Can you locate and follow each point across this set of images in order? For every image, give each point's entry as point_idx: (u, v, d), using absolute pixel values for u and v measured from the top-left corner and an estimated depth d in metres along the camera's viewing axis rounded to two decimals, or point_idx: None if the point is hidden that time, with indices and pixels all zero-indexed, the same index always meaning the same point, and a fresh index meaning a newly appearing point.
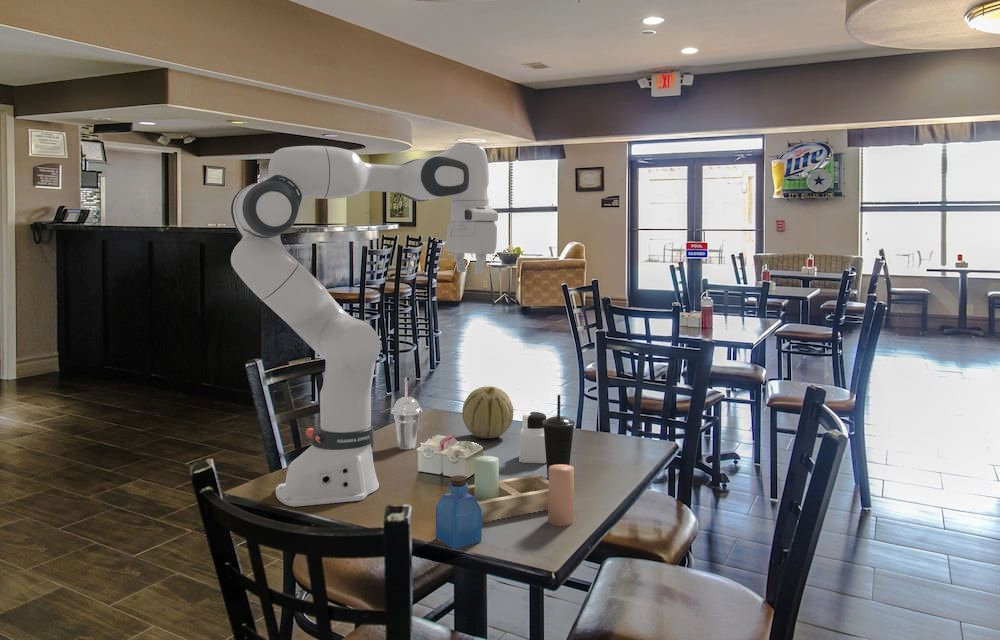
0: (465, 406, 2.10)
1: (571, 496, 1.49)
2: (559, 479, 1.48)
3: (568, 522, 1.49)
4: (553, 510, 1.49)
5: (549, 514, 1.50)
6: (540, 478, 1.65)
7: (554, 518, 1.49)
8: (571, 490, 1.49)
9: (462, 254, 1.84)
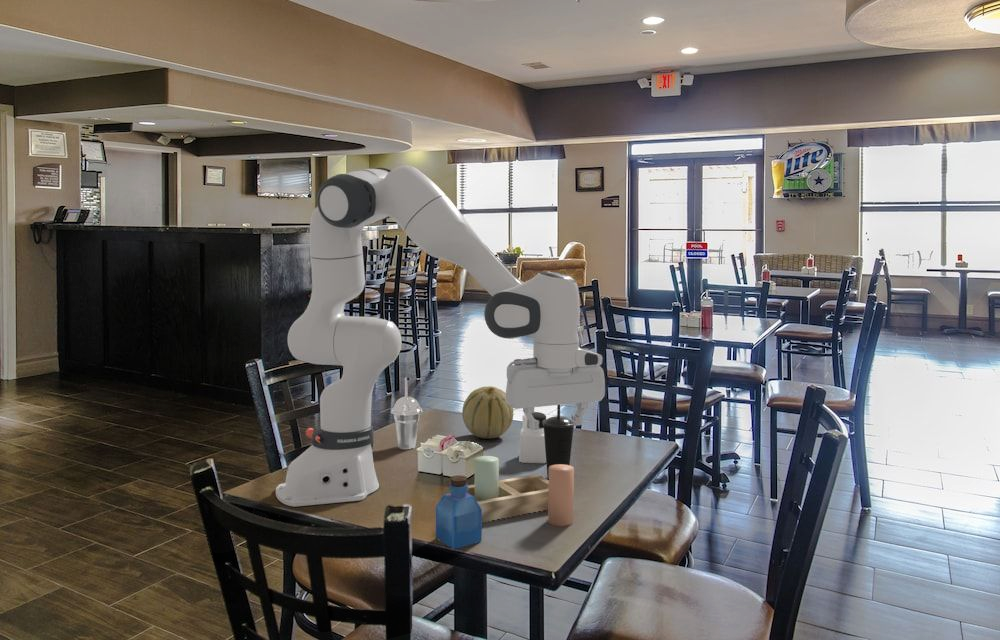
0: (465, 406, 2.10)
1: (571, 496, 1.49)
2: (559, 479, 1.48)
3: (568, 522, 1.49)
4: (553, 510, 1.49)
5: (549, 514, 1.50)
6: (540, 478, 1.65)
7: (554, 518, 1.49)
8: (571, 490, 1.49)
9: None
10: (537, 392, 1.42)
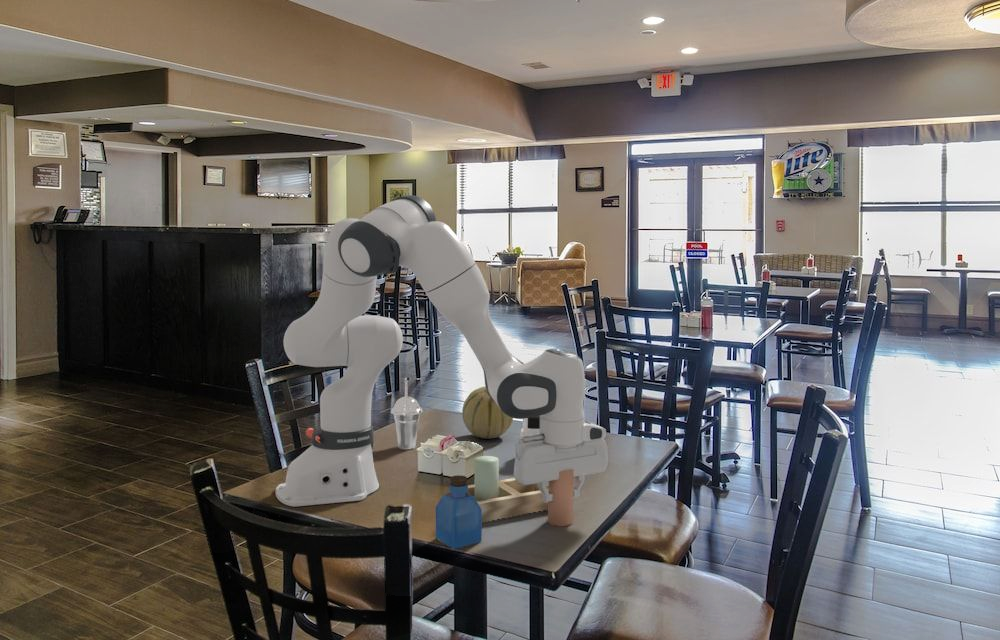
0: (465, 406, 2.10)
1: (571, 496, 1.49)
2: (559, 479, 1.48)
3: (568, 521, 1.49)
4: (553, 510, 1.49)
5: (549, 514, 1.50)
6: None
7: (554, 517, 1.49)
8: (571, 490, 1.49)
9: None
10: (545, 468, 1.46)
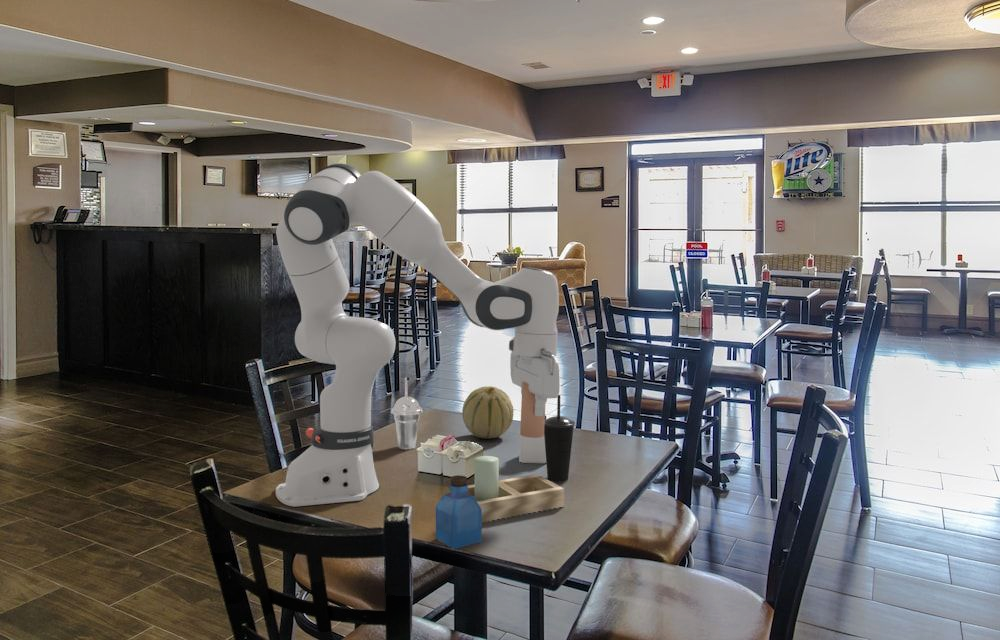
0: (465, 406, 2.10)
1: None
2: None
3: None
4: (540, 423, 1.55)
5: (535, 429, 1.55)
6: (540, 478, 1.65)
7: (541, 429, 1.56)
8: None
9: None
10: None
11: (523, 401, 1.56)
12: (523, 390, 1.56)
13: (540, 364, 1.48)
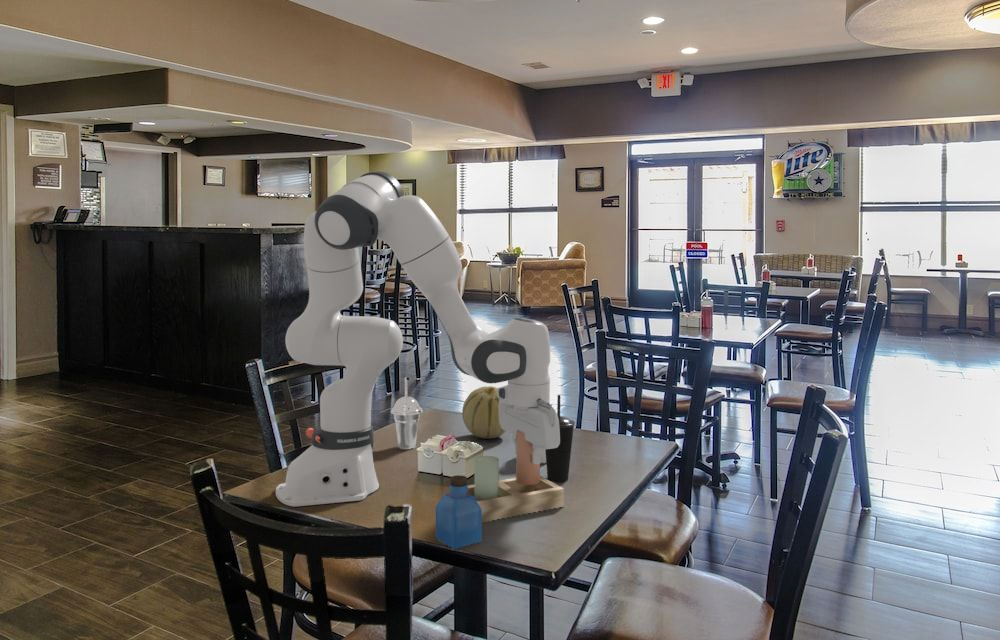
0: (465, 406, 2.10)
1: None
2: None
3: None
4: (537, 469, 1.58)
5: (532, 476, 1.58)
6: (540, 478, 1.65)
7: (538, 476, 1.59)
8: None
9: None
10: None
11: (519, 450, 1.58)
12: (519, 439, 1.58)
13: (539, 415, 1.51)
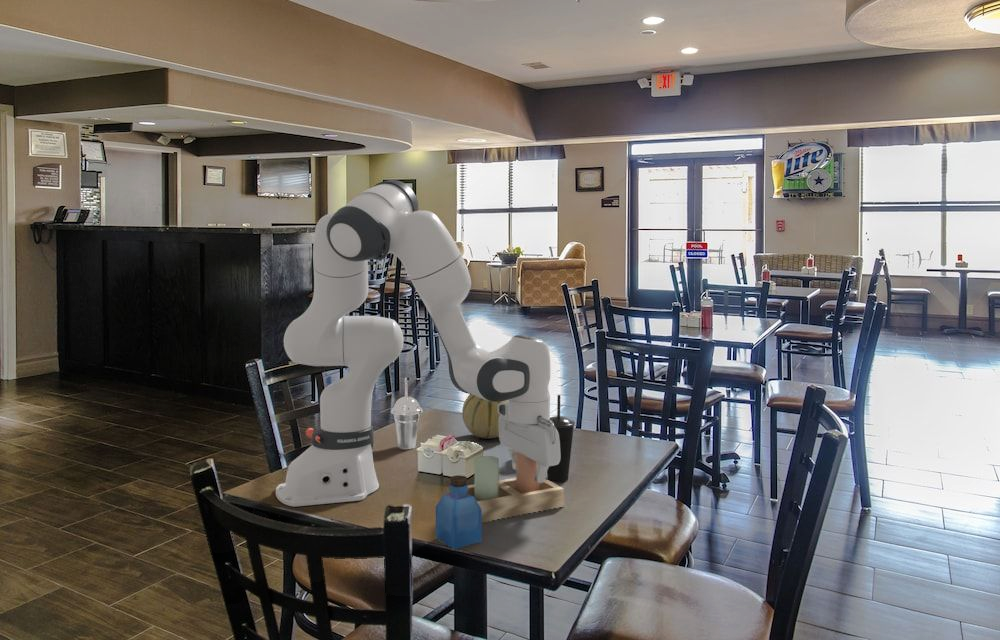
0: (465, 406, 2.10)
1: None
2: None
3: None
4: None
5: None
6: None
7: None
8: None
9: None
10: None
11: (519, 472, 1.59)
12: (519, 462, 1.59)
13: (540, 433, 1.52)
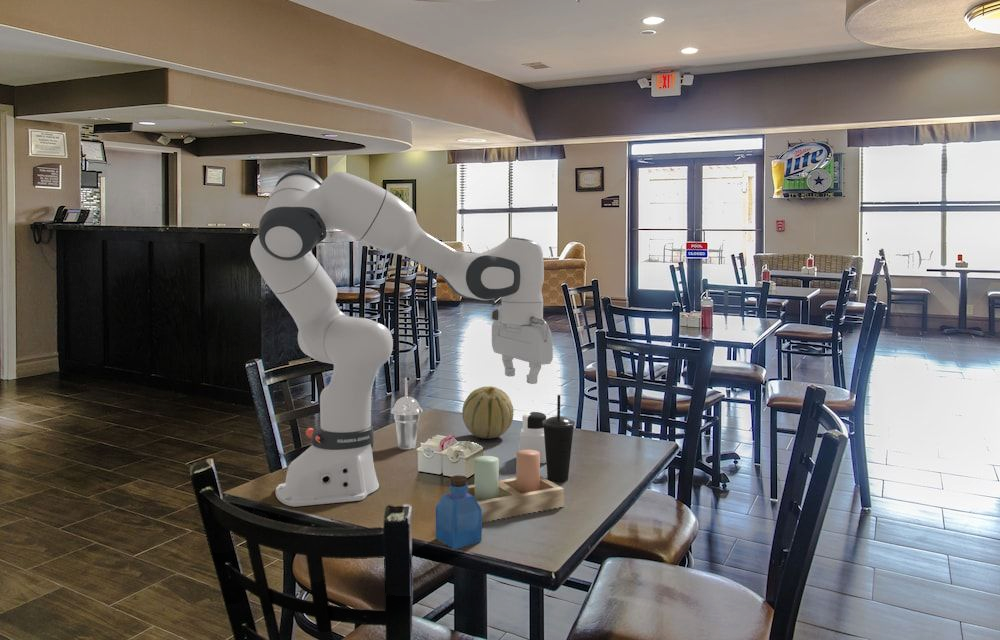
0: (465, 406, 2.10)
1: None
2: (539, 461, 1.60)
3: None
4: None
5: None
6: (540, 478, 1.65)
7: None
8: None
9: None
10: None
11: (519, 472, 1.59)
12: (519, 462, 1.59)
13: (533, 331, 1.52)
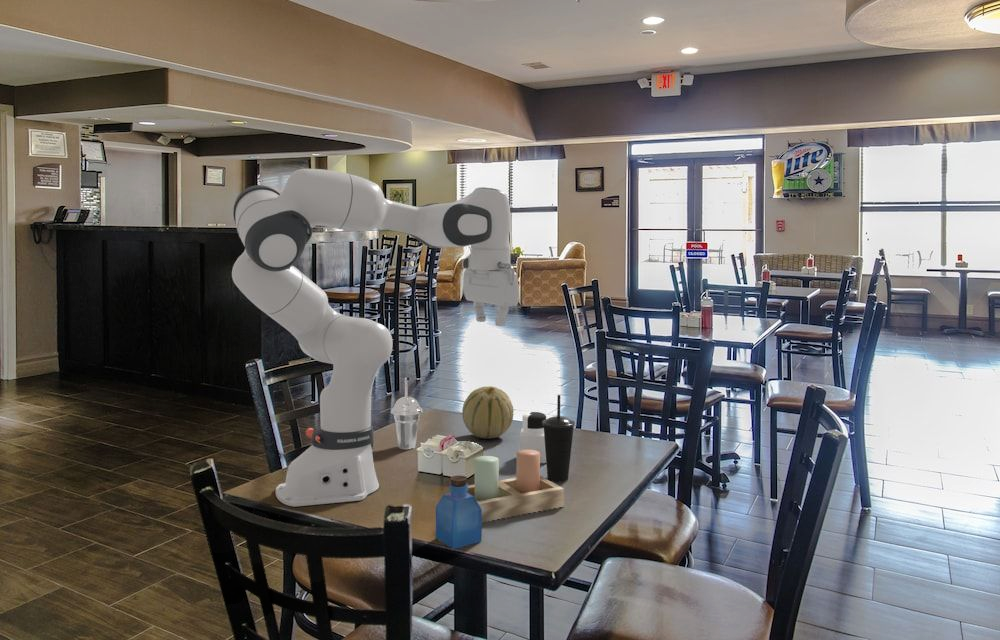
0: (465, 406, 2.10)
1: None
2: (539, 461, 1.60)
3: None
4: None
5: None
6: (540, 478, 1.65)
7: None
8: None
9: None
10: None
11: (519, 472, 1.59)
12: (519, 462, 1.59)
13: (499, 275, 1.61)
